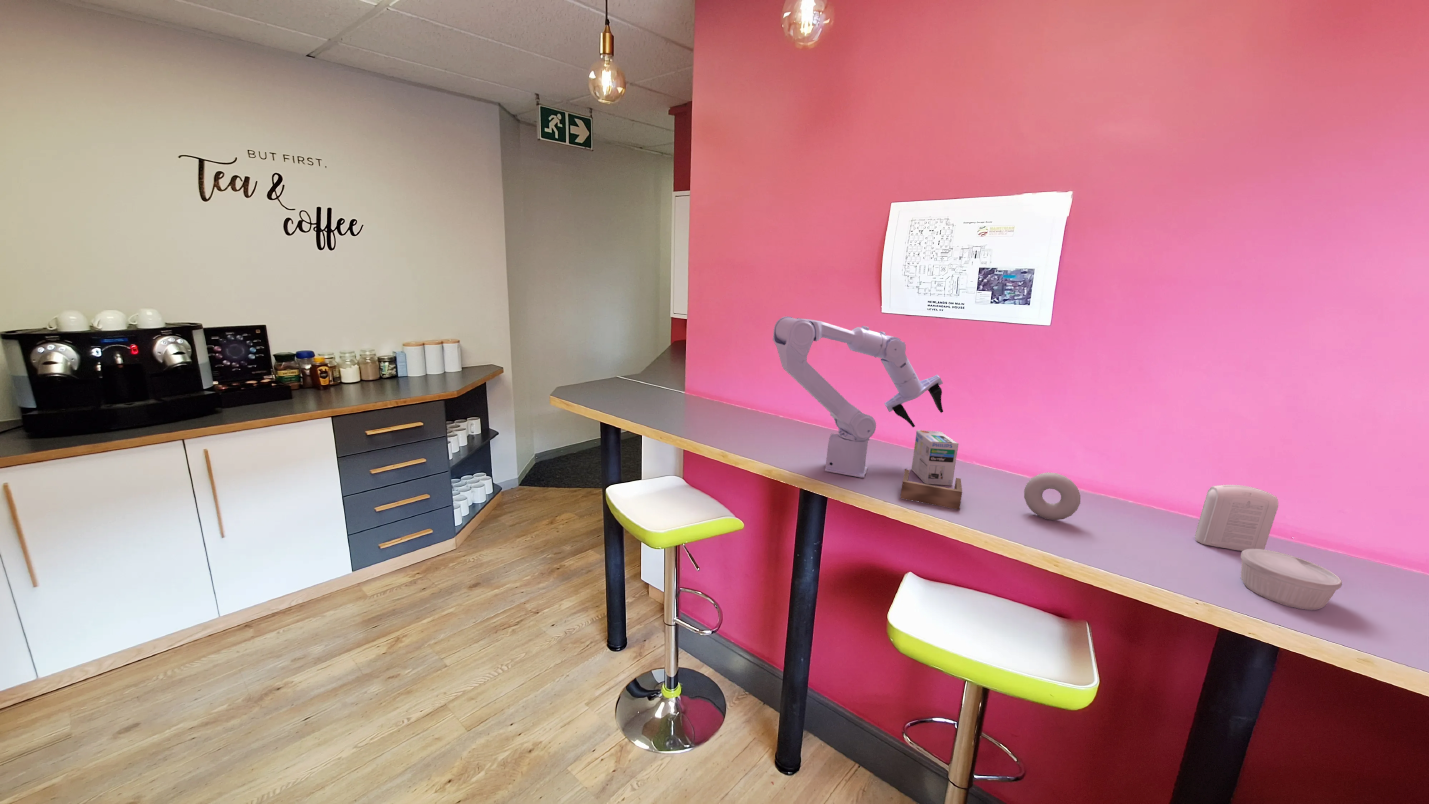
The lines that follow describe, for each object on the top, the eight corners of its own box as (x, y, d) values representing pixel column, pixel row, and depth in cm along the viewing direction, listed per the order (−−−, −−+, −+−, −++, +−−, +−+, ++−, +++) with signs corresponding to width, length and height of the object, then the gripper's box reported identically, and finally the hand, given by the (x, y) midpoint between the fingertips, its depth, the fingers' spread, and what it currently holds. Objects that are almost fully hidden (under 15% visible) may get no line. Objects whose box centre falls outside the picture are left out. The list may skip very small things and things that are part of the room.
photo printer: (1253, 546, 105) (1271, 487, 102) (1267, 557, 101) (1287, 495, 98) (1189, 536, 108) (1205, 478, 105) (1201, 546, 104) (1218, 486, 101)
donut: (1075, 522, 111) (1085, 477, 109) (1074, 528, 108) (1085, 481, 106) (1020, 509, 117) (1029, 465, 115) (1018, 514, 114) (1027, 469, 112)
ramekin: (1353, 615, 83) (1364, 584, 82) (1288, 615, 82) (1298, 584, 81) (1274, 576, 94) (1283, 548, 93) (1215, 575, 93) (1224, 547, 92)
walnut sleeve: (900, 498, 119) (902, 481, 118) (902, 485, 127) (905, 469, 126) (959, 509, 115) (962, 492, 114) (958, 495, 123) (960, 478, 122)
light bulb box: (953, 486, 128) (960, 443, 126) (924, 484, 128) (931, 441, 126) (936, 470, 139) (942, 430, 136) (909, 469, 139) (915, 429, 136)
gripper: (925, 356, 135) (947, 397, 140) (873, 385, 139) (896, 424, 143) (935, 366, 129) (958, 409, 133) (880, 396, 132) (904, 437, 137)
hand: (926, 418), depth 138 cm, fingers open, 7 cm apart
